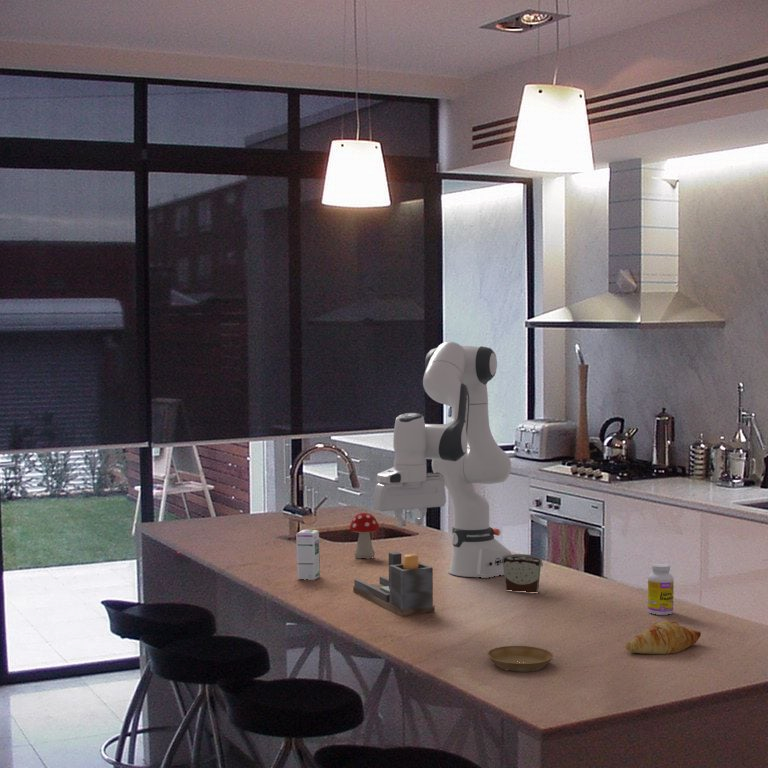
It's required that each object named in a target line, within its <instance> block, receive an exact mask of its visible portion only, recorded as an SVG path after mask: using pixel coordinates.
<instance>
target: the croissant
mask: <svg viewBox="0 0 768 768" xmlns="http://www.w3.org/2000/svg"><path fill="white" fill-rule="evenodd" d="M701 634H702V633H701V631H698V630H695V629H693V628H692V629H691V628H688V627H687V628H686V626H683V625H679V624H678V622H676V621H671V620H662V621H657V622H655V623H653V624H652V625H650V626H649V628H646V629H644V630H642V633H641V634H639V635H636V636H634V637H633V638H632V639H631V641H628V642H626V645H625V649H626V651H627V652H629V653H635V654H647V655H669V653H670V654H674V653H673V652H676V653H679V652H681V651H685V649H687V648H690V647H692V646H694V645H695V644H696V643H697V642H698V641H699V639H700V637H701Z"/></svg>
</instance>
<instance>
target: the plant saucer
mask: <svg viewBox="0 0 768 768" xmlns="http://www.w3.org/2000/svg"><path fill="white" fill-rule="evenodd" d="M487 656H488V658H489V659H490V661H491V662H492V663H493V664H494V665H495V666H496V667H498V668H499V667H500V669H501V668H503V669H502V670H505V669H508V670H507V671H509V670H514V671H513V672H518V671H527V672H533V671H532V670H535V671H538V670H537V669H539V670H542V669H543V668H545V667H546V666H548V664H549V663H550V662H551V661H552V659H553V658H554V654H553V653H552V652H551V651H550V650H547V649H544V648H541V647H536V646H529V645H506V646H505V645H503V646H498V647H495V648H491V649H490V650H488V651H487ZM517 661H518V662H517ZM519 662H520V663H519ZM523 662H524V663H523ZM541 668H542V669H541Z"/></svg>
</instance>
